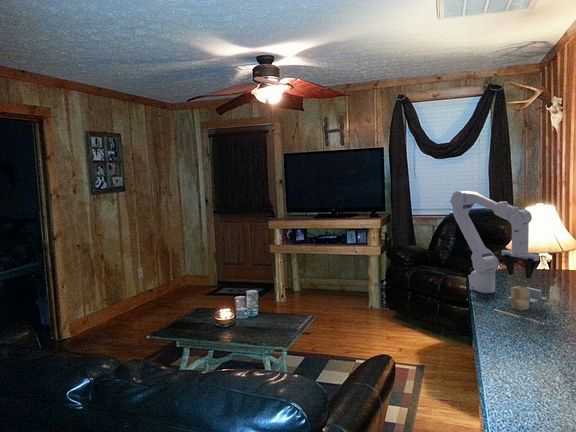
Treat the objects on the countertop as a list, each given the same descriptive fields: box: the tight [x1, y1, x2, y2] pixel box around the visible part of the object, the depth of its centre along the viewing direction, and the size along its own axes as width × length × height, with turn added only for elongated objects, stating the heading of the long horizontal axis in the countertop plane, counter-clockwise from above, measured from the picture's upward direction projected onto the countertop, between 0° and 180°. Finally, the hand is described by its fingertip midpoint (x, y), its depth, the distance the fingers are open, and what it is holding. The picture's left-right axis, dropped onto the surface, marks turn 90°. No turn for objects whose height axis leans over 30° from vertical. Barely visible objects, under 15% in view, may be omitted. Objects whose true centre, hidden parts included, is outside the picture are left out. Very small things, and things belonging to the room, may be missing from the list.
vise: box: [507, 286, 548, 304], centre depth 175 cm, size 9×11×4 cm
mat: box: [493, 308, 526, 319], centre depth 163 cm, size 10×14×1 cm
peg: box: [510, 285, 530, 311], centre depth 163 cm, size 4×4×8 cm
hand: (519, 276), depth 175 cm, fingers open, 7 cm apart
